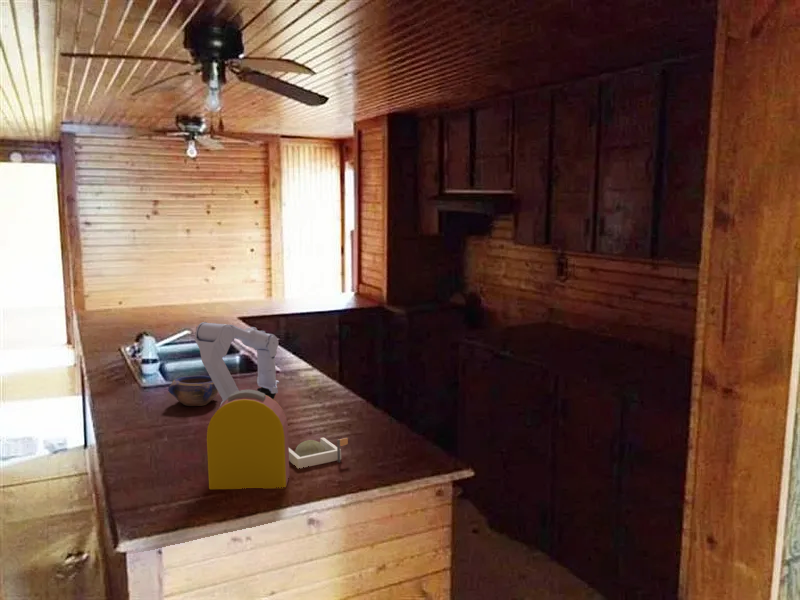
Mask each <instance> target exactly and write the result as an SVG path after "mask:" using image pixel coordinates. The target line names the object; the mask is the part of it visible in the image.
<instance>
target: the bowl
mask: <svg viewBox="0 0 800 600" xmlns="http://www.w3.org/2000/svg"><path fill="white" fill-rule="evenodd" d="M167 391H168V392H169V394H171V395H172V396H173V397H174V398H175V399H176V400H177V401H178V402H179V403H181V404H183V406H187V407H201V406H206V405H207V404H209V403H211V402H212V400H214V398H215V397H216V396H217V395H218V394H219V392H218V390H217V388H216V387H215V385H214V383H213V381H212V379H211V377H210V375H189V376H188V375H187V376H181V377H178V378H175V379H173V380H172V383H170V384H169V385H168V390H167Z"/></svg>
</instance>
